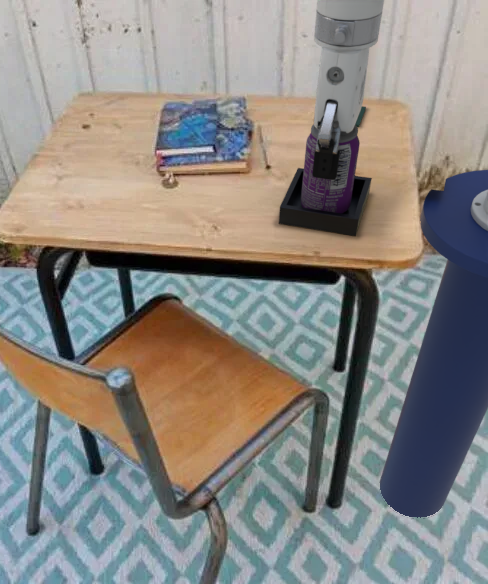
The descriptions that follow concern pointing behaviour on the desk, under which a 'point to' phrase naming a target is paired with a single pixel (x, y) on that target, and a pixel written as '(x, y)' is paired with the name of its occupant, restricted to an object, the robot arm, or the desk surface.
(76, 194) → the desk surface
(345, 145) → the beverage can
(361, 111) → the rubber mat
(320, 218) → the black square tray
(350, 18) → the robot arm
